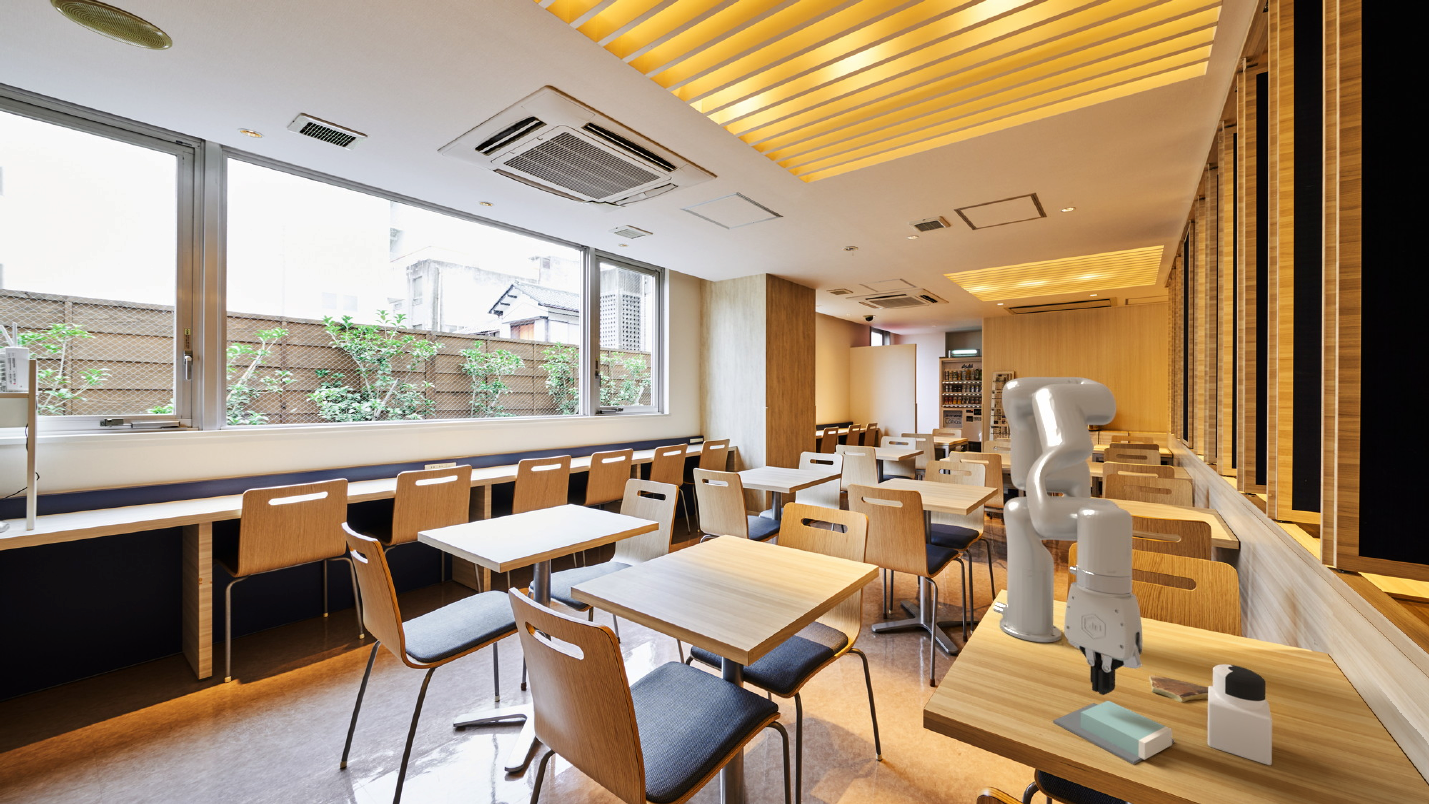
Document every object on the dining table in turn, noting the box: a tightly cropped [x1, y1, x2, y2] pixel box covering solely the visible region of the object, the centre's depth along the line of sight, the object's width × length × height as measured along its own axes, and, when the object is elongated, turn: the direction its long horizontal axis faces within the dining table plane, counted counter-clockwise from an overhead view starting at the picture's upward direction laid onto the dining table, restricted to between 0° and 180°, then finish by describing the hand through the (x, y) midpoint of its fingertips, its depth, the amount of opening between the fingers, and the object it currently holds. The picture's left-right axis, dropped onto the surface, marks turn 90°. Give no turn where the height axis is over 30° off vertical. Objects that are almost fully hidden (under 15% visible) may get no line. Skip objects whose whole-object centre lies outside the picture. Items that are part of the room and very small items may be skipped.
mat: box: [1052, 702, 1175, 765], centre depth 91 cm, size 12×12×1 cm
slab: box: [1081, 700, 1173, 760], centre depth 89 cm, size 2×8×9 cm
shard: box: [1148, 674, 1209, 703], centre depth 103 cm, size 11×8×2 cm
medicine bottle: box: [1207, 664, 1273, 766], centre depth 88 cm, size 7×7×12 cm
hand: (1102, 690), depth 92 cm, fingers closed
